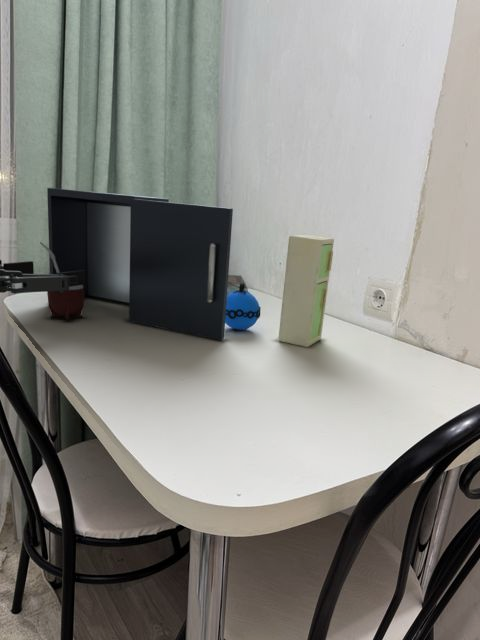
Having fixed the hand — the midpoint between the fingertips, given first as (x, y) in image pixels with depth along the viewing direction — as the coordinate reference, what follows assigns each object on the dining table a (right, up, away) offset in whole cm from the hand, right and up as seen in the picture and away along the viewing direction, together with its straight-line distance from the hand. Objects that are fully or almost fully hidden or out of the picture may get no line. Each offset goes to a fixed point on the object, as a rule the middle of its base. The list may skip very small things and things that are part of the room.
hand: (57, 272), depth 101 cm
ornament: (+36, -11, +7) cm, 38 cm away
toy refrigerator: (+49, -14, +3) cm, 51 cm away
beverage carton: (+32, -3, +34) cm, 47 cm away
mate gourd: (0, -9, +4) cm, 10 cm away
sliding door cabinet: (+15, -8, +11) cm, 20 cm away
